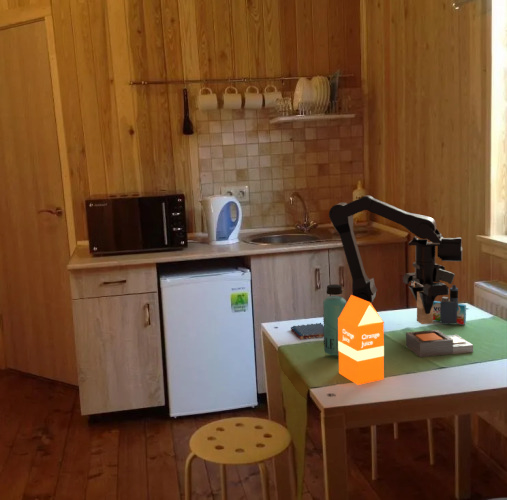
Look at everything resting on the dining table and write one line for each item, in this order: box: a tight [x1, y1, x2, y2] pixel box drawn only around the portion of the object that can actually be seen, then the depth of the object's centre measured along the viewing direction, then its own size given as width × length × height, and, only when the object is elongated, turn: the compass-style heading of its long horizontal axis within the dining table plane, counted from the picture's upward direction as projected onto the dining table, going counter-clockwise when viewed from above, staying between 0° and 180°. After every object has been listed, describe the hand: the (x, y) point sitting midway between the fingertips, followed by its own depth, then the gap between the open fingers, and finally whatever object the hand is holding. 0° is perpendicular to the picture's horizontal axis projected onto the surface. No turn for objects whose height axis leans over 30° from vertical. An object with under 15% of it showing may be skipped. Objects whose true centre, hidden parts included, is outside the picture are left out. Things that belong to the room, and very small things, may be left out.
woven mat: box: [290, 322, 324, 340], centre depth 193 cm, size 10×11×2 cm
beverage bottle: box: [322, 283, 347, 356], centre depth 170 cm, size 6×7×20 cm
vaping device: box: [440, 284, 459, 325], centre depth 195 cm, size 3×5×12 cm, turn 79°
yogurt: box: [433, 300, 467, 326], centre depth 198 cm, size 12×2×6 cm, turn 54°
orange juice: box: [338, 294, 385, 386], centre depth 155 cm, size 8×9×20 cm
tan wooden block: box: [416, 291, 434, 325], centre depth 186 cm, size 4×4×9 cm
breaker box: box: [405, 329, 474, 358], centre depth 174 cm, size 15×9×4 cm, turn 100°
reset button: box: [415, 333, 442, 341], centre depth 173 cm, size 6×6×2 cm
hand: (424, 311), depth 187 cm, fingers closed on tan wooden block, 3 cm apart
